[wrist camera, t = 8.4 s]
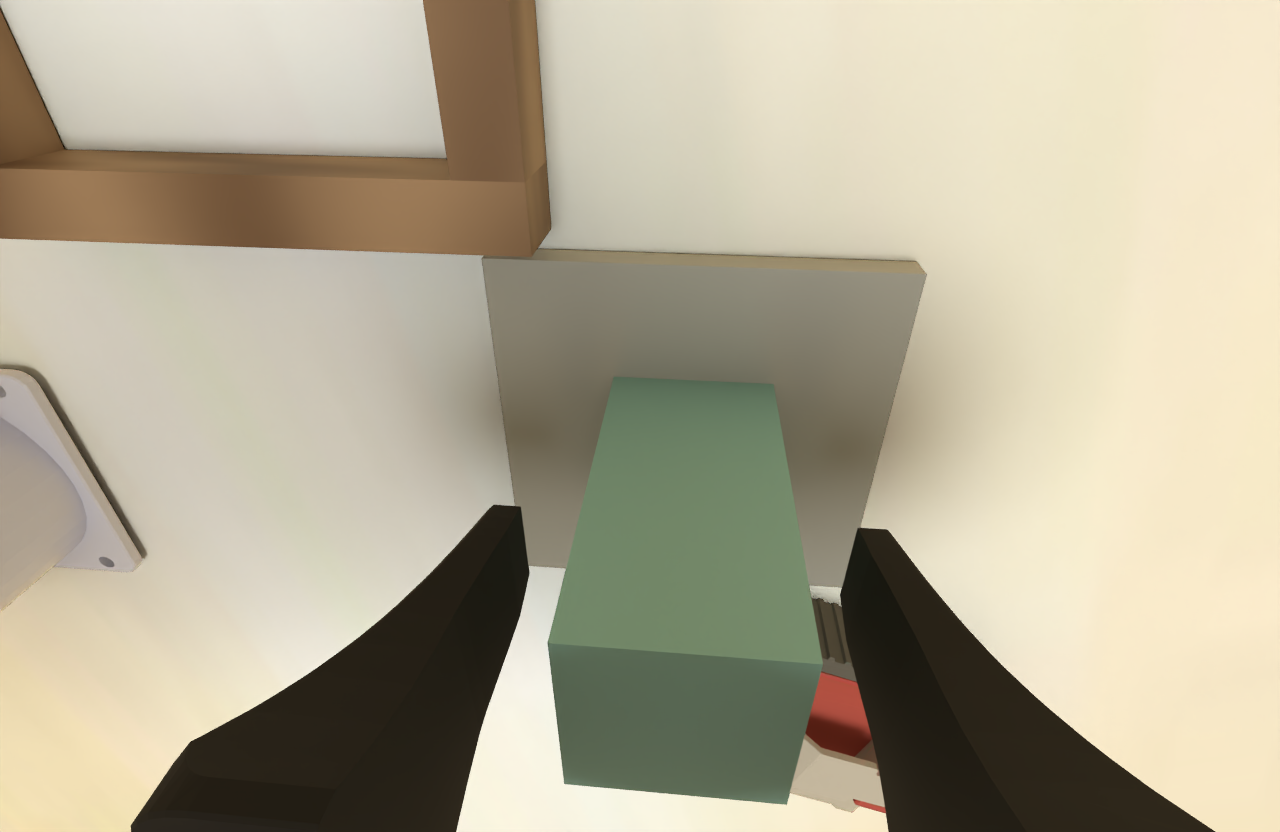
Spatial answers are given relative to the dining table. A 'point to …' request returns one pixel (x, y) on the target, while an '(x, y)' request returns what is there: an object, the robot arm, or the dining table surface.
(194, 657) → the dining table surface
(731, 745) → the green block
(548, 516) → the ceramic tile
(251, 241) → the brown square frame
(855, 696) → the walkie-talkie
